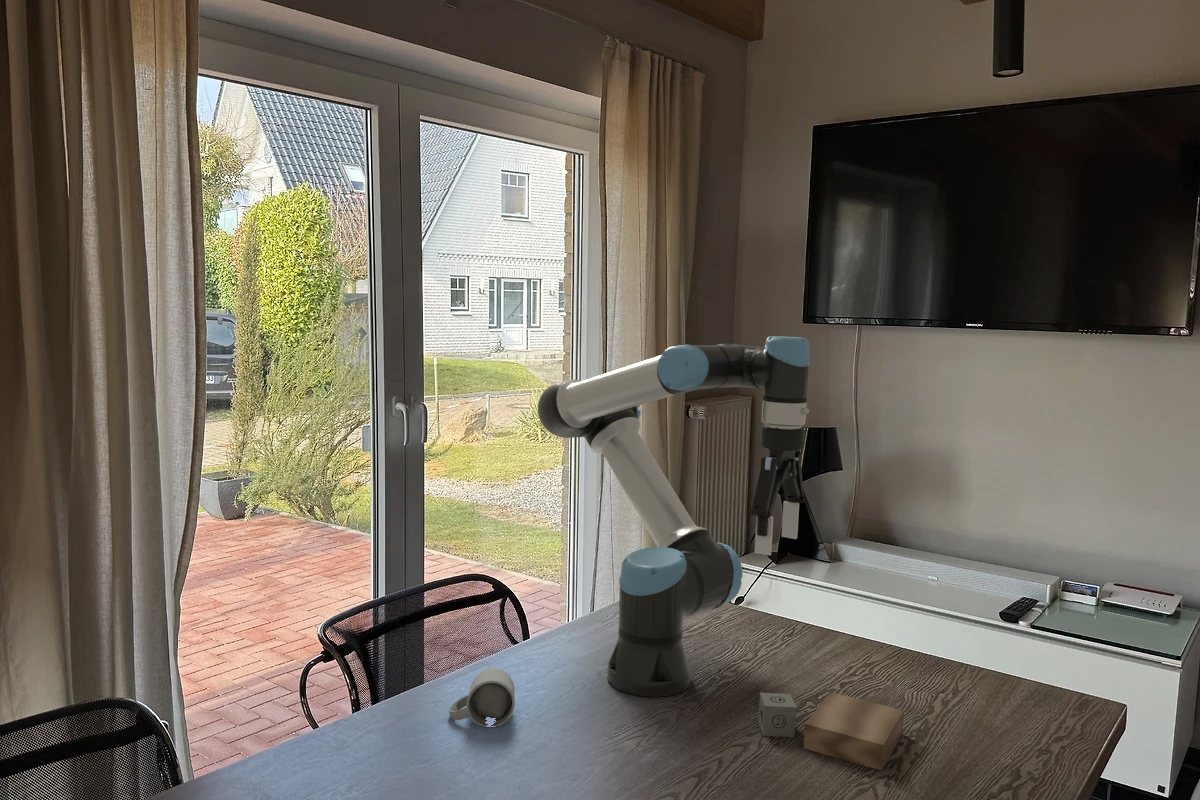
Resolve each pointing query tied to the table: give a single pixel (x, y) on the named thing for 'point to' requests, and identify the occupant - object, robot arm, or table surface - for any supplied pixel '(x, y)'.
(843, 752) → the brown flat block
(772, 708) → the dice cube
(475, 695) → the ceramic mug
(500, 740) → the table surface
